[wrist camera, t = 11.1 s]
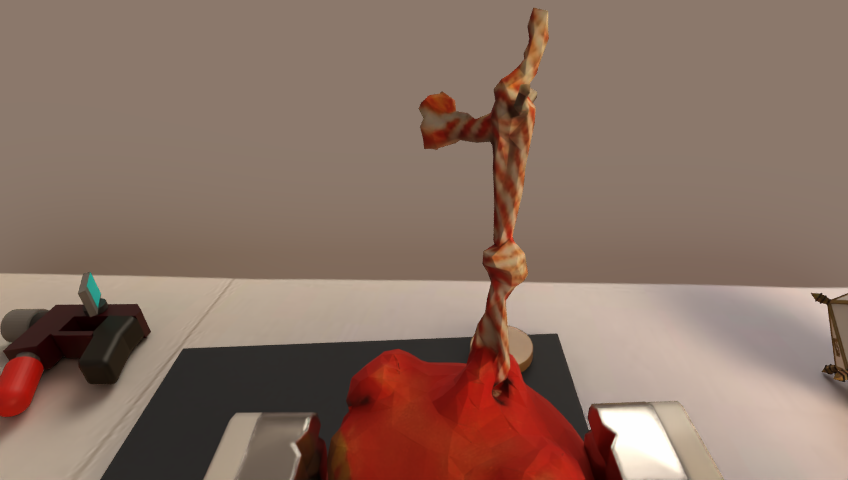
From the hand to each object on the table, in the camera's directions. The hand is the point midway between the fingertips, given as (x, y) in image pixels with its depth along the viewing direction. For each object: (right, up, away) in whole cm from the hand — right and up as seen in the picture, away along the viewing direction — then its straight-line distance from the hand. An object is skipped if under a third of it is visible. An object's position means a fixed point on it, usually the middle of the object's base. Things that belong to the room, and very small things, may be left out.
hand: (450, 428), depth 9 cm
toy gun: (-26, -6, +25) cm, 37 cm away
